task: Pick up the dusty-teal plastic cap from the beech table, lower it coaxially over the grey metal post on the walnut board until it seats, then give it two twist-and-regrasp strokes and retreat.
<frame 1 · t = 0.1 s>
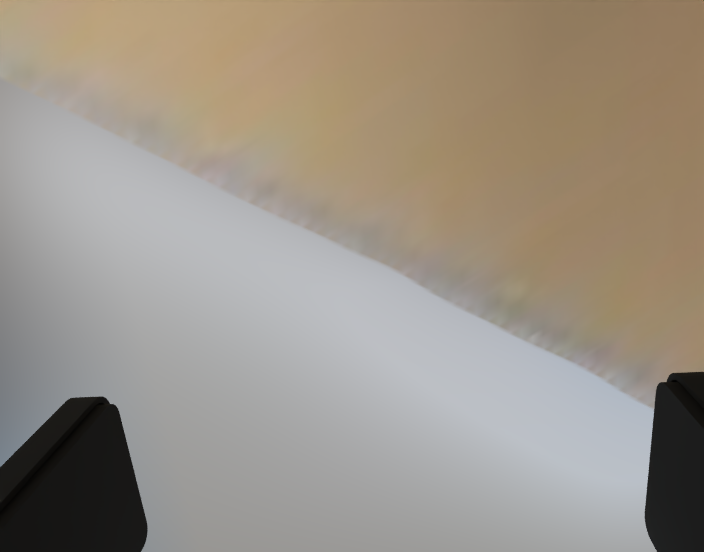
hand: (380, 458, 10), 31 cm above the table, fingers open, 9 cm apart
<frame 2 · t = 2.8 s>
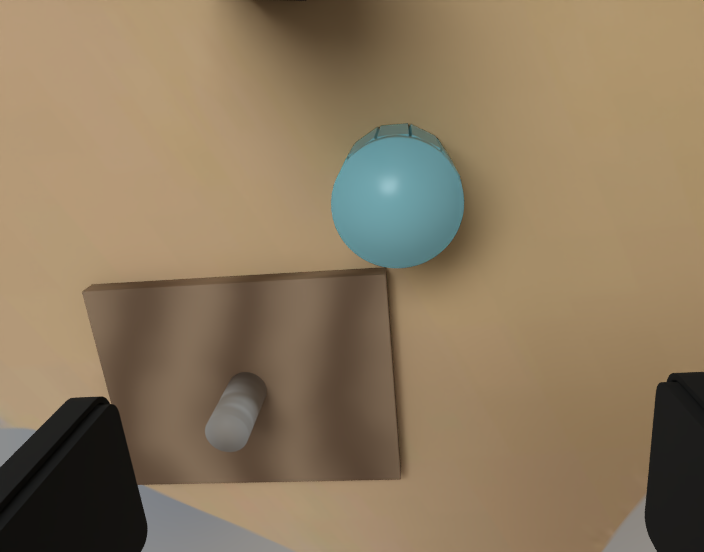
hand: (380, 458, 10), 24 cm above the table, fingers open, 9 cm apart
post board: (252, 379, 37), on the table
cap: (397, 180, 32), on the table
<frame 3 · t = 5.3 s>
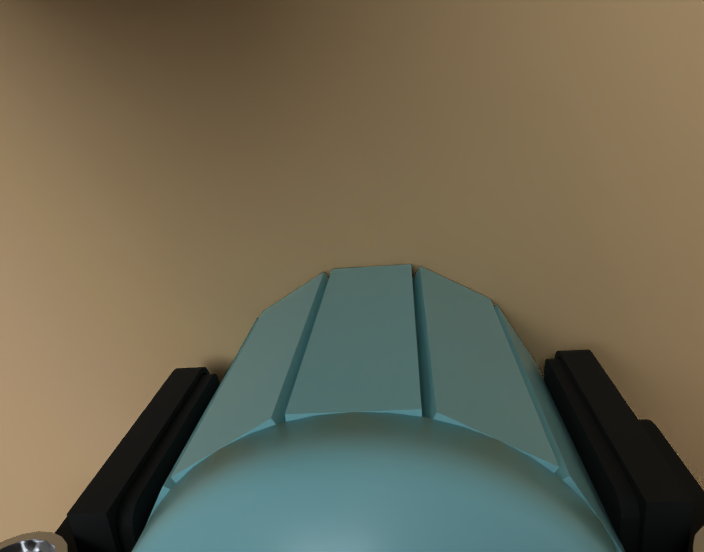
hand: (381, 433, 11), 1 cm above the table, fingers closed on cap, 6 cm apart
cap: (383, 409, 12), on the table, touching gripper
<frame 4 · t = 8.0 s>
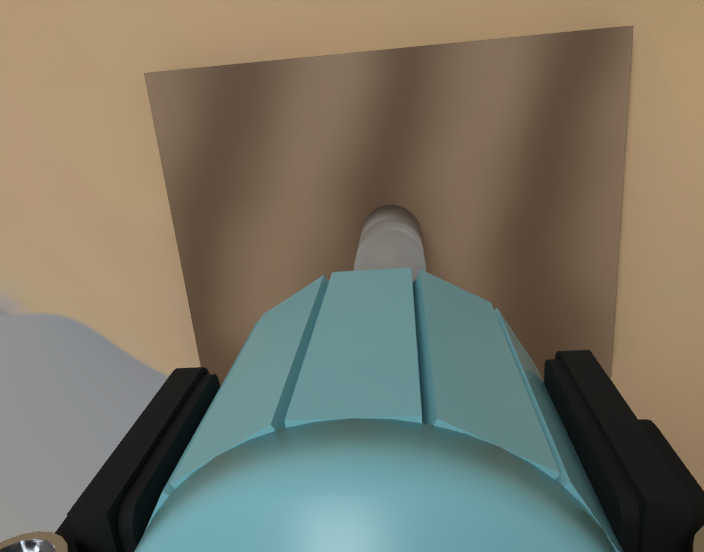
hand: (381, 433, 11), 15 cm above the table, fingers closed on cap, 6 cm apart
post board: (391, 226, 25), on the table
cap: (383, 412, 12), point 14 cm above the table, touching gripper
when the fingers open (4 cm above the table, at t = 10.9 s): cap drops 2 cm, resting on post board.
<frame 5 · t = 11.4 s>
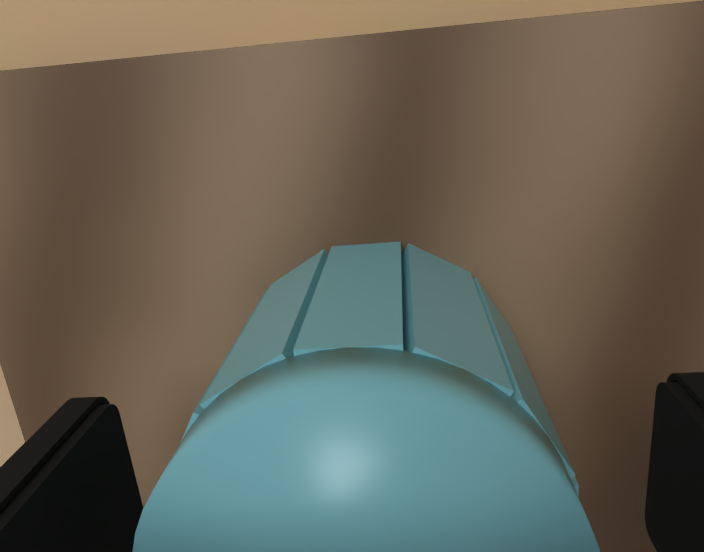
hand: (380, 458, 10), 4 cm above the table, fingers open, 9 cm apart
post board: (385, 347, 14), on the table
cap: (377, 372, 13), point 1 cm above the table, touching post board
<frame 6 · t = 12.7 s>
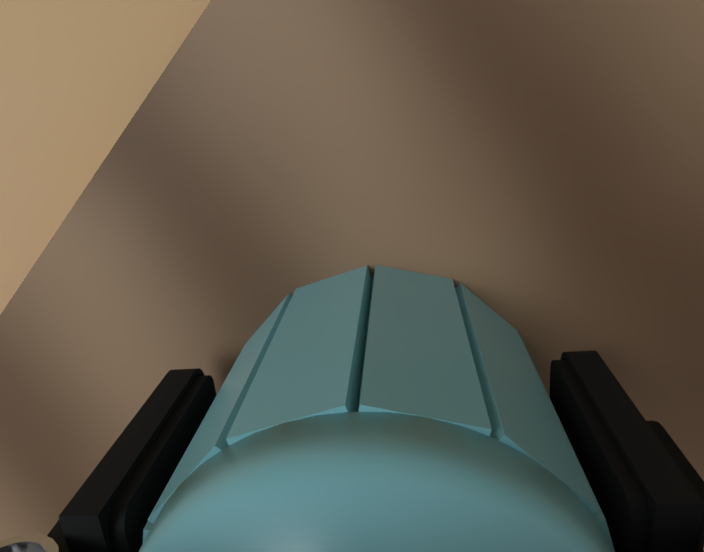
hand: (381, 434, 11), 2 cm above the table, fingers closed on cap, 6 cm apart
post board: (384, 374, 13), on the table
cap: (383, 409, 12), point 1 cm above the table, touching gripper, post board
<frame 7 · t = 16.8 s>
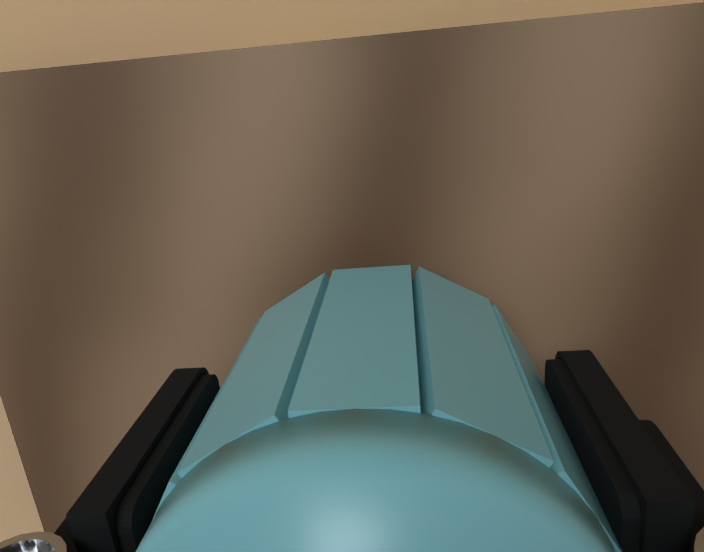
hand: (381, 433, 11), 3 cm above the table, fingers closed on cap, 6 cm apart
post board: (384, 354, 14), on the table
cap: (383, 407, 12), point 2 cm above the table, touching gripper
when the fingers open (3 cm above the table, at t = 16.8 s): cap drops 1 cm, resting on post board.
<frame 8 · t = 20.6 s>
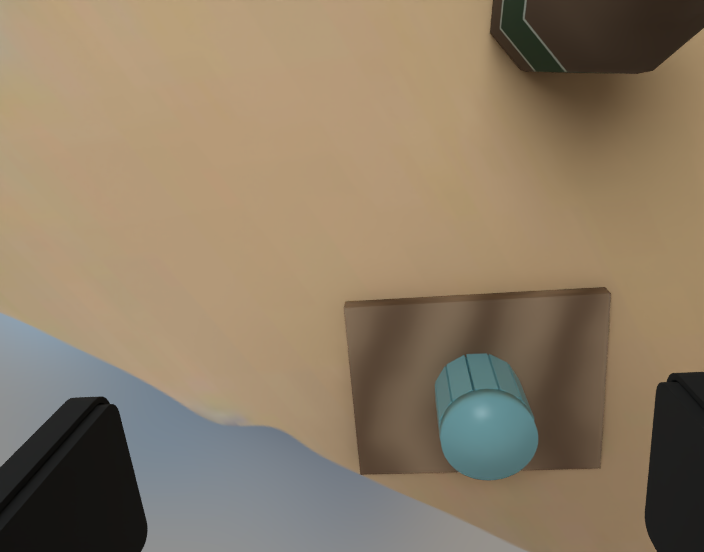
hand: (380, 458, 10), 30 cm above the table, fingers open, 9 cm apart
post board: (474, 382, 43), on the table
cap: (476, 391, 42), point 1 cm above the table, touching post board
beer bottle: (550, 8, 35), on the table
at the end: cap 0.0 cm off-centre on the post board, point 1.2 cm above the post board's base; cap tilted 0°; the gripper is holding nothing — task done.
